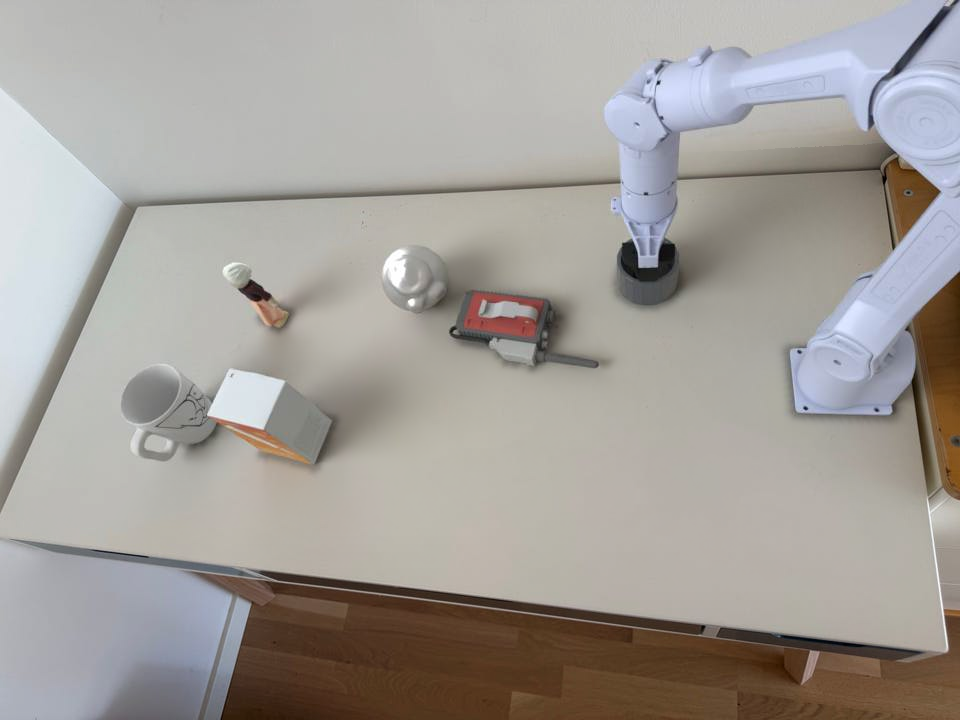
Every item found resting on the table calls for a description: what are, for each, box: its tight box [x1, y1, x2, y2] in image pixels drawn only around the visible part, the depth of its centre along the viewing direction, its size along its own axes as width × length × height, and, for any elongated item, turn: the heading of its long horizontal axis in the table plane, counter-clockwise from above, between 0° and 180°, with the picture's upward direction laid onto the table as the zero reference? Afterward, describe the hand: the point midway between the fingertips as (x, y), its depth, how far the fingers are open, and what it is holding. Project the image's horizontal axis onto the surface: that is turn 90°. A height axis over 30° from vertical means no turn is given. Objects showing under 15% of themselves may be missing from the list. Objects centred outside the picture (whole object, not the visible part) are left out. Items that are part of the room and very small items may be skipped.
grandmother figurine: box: [222, 261, 290, 328], centre depth 89 cm, size 8×4×13 cm, turn 68°
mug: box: [119, 363, 217, 462], centre depth 84 cm, size 11×8×10 cm
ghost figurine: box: [380, 244, 449, 315], centre depth 86 cm, size 9×10×10 cm
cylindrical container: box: [616, 237, 680, 306], centre depth 82 cm, size 7×7×5 cm
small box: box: [207, 367, 333, 466], centre depth 79 cm, size 8×6×13 cm
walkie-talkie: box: [448, 289, 600, 369], centre depth 82 cm, size 9×4×20 cm
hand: (648, 252), depth 79 cm, fingers open, 7 cm apart
